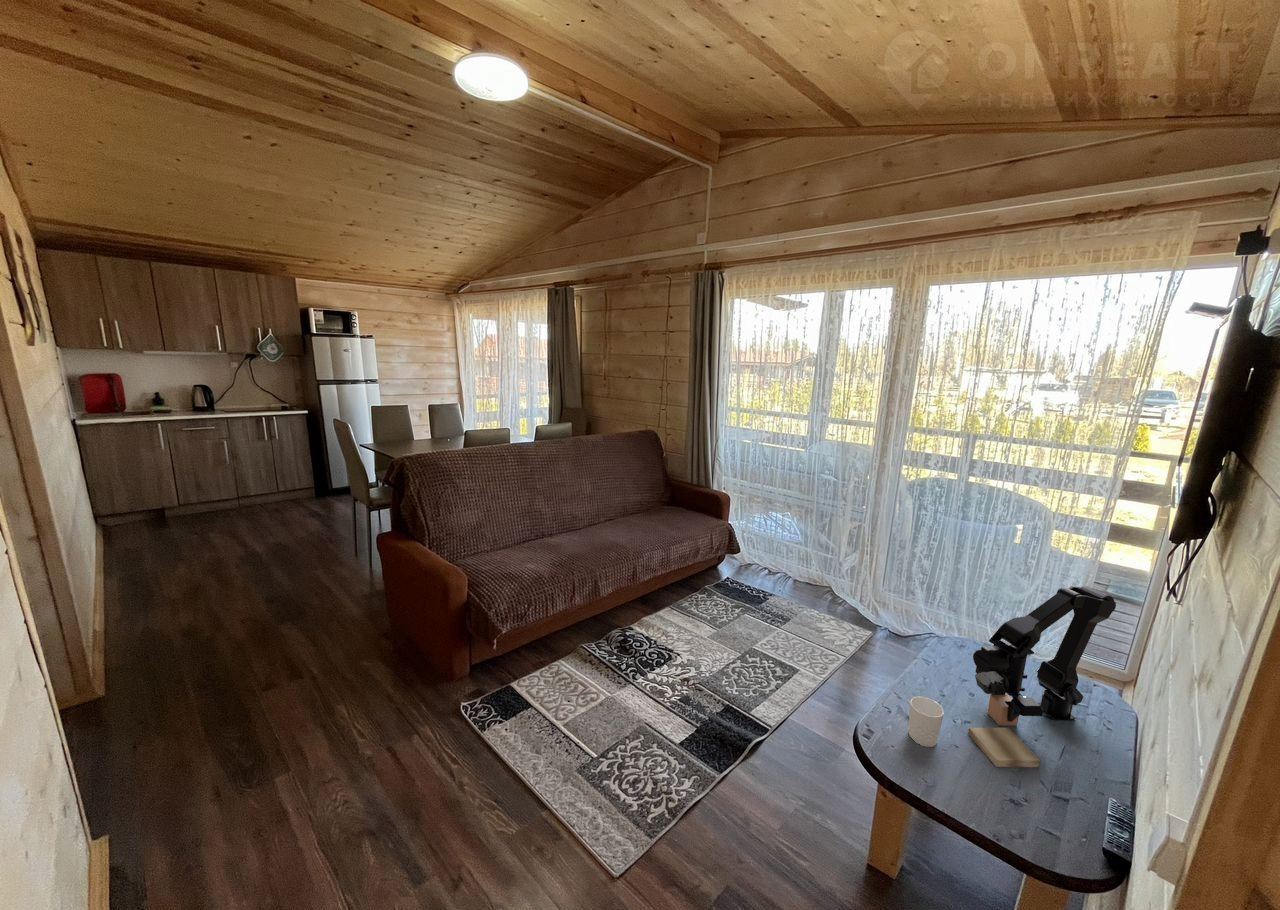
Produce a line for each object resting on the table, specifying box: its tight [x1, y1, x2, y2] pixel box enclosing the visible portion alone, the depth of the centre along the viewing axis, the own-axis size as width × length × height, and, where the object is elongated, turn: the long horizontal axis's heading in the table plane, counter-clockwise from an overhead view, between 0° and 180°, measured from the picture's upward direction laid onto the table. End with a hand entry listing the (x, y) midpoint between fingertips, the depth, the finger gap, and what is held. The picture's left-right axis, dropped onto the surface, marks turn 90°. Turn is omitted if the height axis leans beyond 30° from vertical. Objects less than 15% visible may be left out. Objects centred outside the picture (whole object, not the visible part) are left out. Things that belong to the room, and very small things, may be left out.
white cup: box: [908, 696, 945, 748], centre depth 132 cm, size 8×8×10 cm
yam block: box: [987, 694, 1020, 726], centre depth 139 cm, size 5×5×6 cm
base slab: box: [967, 727, 1041, 768], centre depth 129 cm, size 11×11×2 cm
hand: (1002, 714), depth 140 cm, fingers closed on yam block, 5 cm apart
